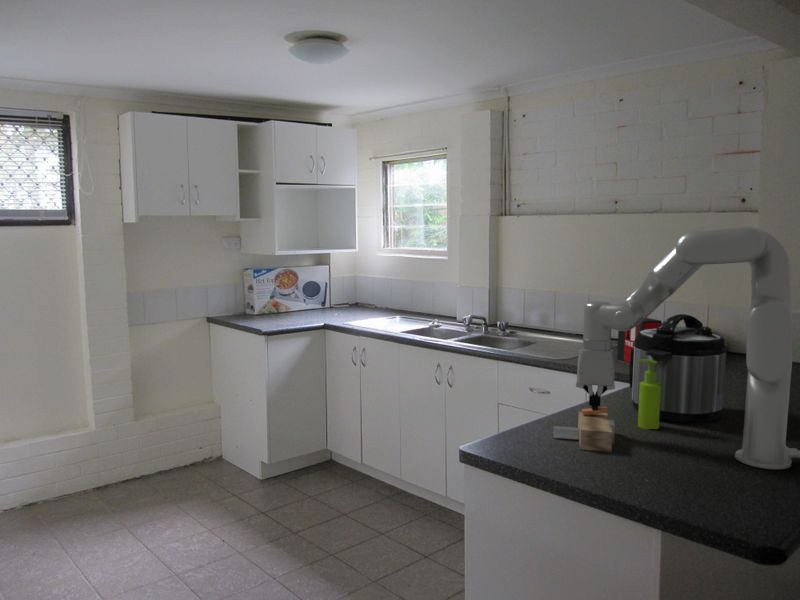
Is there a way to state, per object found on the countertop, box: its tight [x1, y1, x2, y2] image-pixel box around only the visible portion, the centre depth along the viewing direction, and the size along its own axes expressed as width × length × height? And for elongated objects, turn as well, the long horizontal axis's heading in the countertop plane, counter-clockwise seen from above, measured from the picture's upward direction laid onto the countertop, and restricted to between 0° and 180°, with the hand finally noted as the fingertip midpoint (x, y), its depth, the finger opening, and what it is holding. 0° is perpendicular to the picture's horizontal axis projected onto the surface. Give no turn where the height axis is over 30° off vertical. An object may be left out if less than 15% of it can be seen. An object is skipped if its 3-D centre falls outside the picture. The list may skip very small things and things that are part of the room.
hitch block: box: [577, 411, 613, 453], centre depth 186 cm, size 8×18×5 cm, turn 167°
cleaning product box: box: [616, 317, 663, 363], centre depth 285 cm, size 16×9×20 cm, turn 17°
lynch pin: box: [552, 419, 616, 445], centre depth 186 cm, size 16×5×5 cm, turn 77°
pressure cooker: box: [628, 313, 727, 423], centre depth 212 cm, size 30×28×32 cm
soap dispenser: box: [637, 359, 661, 430], centre depth 198 cm, size 6×7×20 cm
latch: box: [581, 406, 609, 415], centre depth 191 cm, size 7×3×1 cm, turn 77°
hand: (594, 408), depth 191 cm, fingers closed
